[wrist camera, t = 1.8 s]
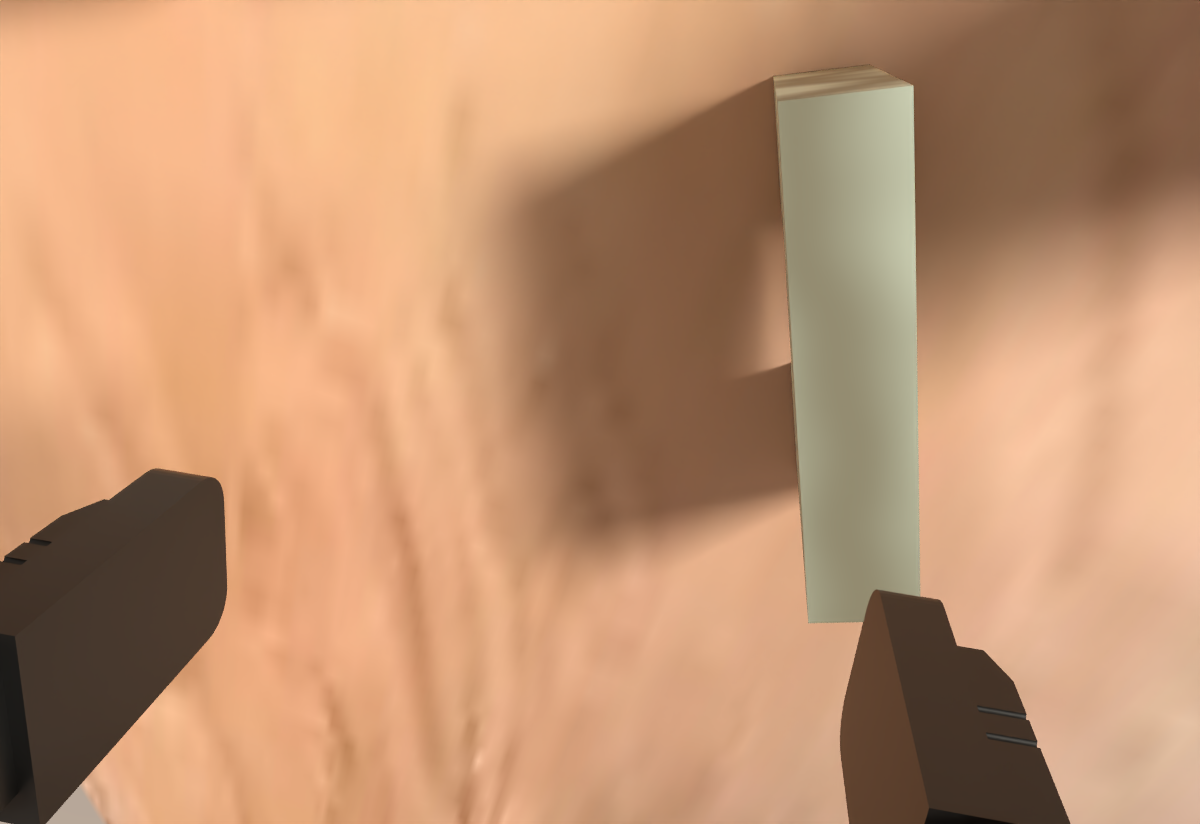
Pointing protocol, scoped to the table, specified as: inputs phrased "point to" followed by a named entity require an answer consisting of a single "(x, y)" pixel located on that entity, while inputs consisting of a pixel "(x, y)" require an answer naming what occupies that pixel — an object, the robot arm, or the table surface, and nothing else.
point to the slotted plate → (852, 331)
